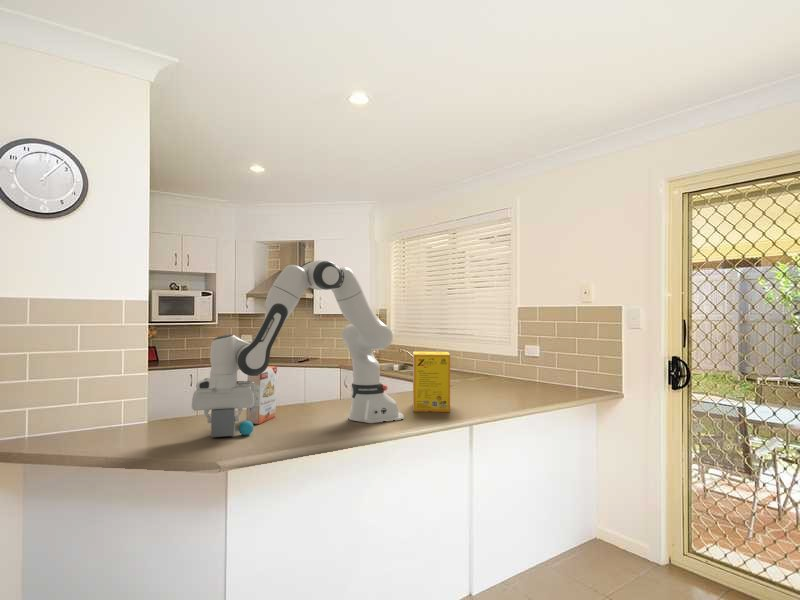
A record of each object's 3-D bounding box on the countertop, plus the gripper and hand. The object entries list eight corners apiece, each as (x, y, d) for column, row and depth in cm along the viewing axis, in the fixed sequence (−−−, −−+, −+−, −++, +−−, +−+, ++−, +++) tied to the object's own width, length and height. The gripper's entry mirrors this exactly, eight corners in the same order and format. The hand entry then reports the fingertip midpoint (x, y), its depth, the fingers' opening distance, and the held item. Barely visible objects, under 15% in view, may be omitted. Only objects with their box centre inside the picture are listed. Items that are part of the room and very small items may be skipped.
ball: (253, 432, 167) (253, 418, 167) (253, 436, 162) (253, 421, 162) (238, 433, 166) (239, 419, 166) (237, 437, 161) (238, 422, 161)
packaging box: (413, 404, 222) (413, 351, 223) (447, 404, 222) (447, 351, 222) (412, 411, 206) (413, 354, 207) (450, 411, 205) (450, 354, 206)
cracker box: (260, 425, 179) (260, 370, 180) (245, 424, 180) (246, 369, 181) (276, 417, 193) (277, 366, 193) (263, 416, 194) (264, 365, 194)
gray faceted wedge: (235, 430, 167) (235, 405, 167) (233, 435, 160) (233, 409, 160) (213, 432, 165) (213, 406, 165) (211, 437, 158) (211, 411, 158)
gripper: (255, 379, 168) (255, 417, 168) (193, 381, 163) (193, 421, 163) (254, 381, 162) (254, 421, 162) (190, 384, 157) (190, 425, 157)
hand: (223, 421), depth 162 cm, fingers closed on gray faceted wedge, 7 cm apart
